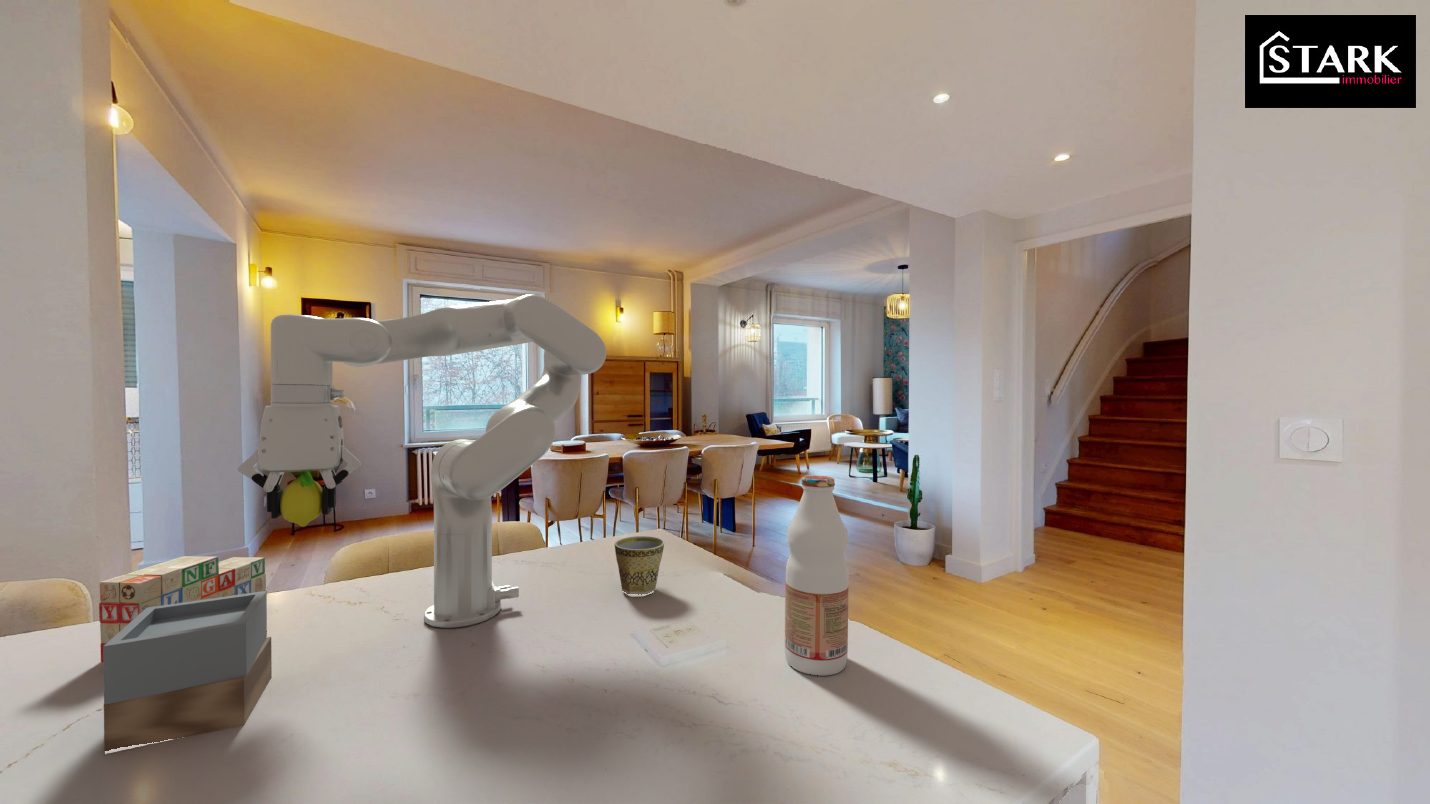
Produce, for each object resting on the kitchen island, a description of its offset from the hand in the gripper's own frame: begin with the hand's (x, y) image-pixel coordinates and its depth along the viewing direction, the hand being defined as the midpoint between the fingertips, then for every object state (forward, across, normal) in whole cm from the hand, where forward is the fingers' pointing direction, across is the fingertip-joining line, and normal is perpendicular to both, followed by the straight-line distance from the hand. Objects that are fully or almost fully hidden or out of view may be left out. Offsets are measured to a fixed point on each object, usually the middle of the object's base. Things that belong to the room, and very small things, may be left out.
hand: (302, 513), depth 82 cm
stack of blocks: (+22, +18, -17) cm, 33 cm away
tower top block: (+16, +8, +13) cm, 22 cm away
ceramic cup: (+21, -56, -4) cm, 60 cm away
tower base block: (+22, +8, +13) cm, 27 cm away
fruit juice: (+21, -70, +36) cm, 82 cm away
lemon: (+2, 0, 0) cm, 2 cm away
